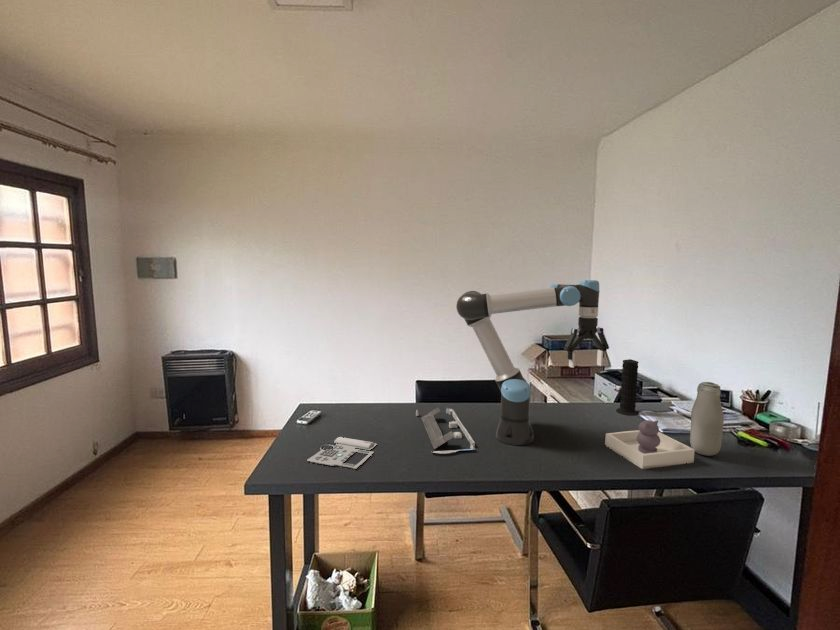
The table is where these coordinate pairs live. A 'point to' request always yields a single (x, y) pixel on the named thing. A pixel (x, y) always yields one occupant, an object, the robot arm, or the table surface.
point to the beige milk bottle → (707, 420)
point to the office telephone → (343, 452)
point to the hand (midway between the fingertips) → (585, 366)
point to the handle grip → (628, 388)
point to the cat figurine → (648, 437)
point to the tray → (665, 455)
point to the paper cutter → (437, 435)
